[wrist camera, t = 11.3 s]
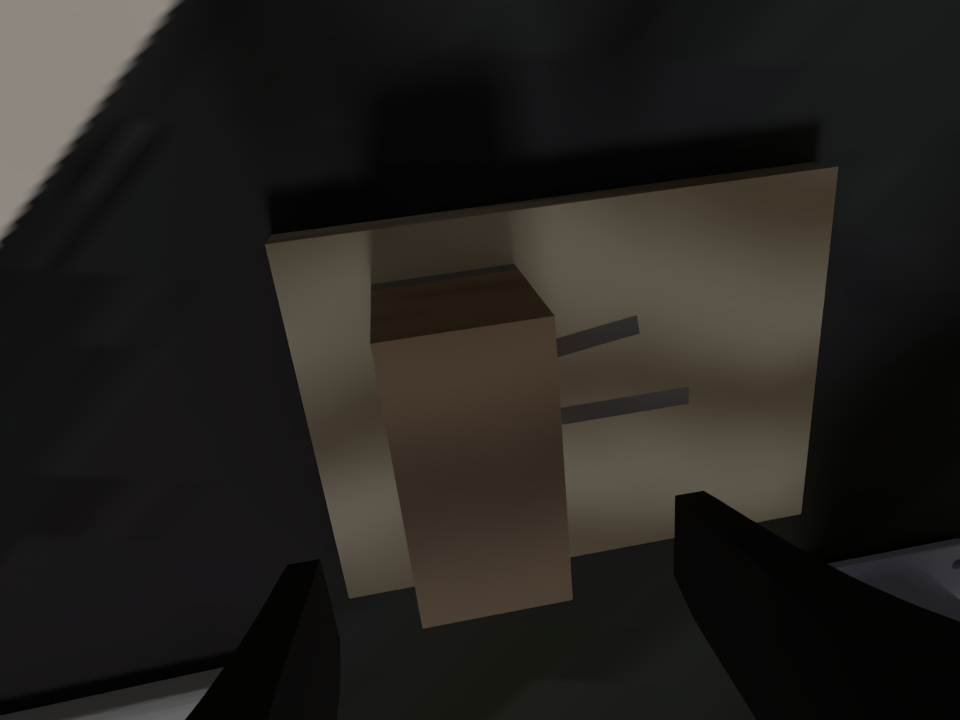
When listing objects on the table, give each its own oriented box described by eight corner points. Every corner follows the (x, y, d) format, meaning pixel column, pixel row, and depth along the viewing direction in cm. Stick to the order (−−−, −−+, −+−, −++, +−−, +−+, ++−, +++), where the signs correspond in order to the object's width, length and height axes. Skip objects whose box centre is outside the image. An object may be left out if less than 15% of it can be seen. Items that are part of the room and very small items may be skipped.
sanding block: (534, 501, 22) (573, 599, 18) (413, 523, 21) (422, 628, 17) (514, 264, 18) (554, 316, 14) (371, 284, 18) (369, 343, 14)
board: (782, 494, 25) (801, 514, 24) (350, 573, 23) (349, 598, 22) (812, 161, 20) (838, 166, 19) (271, 234, 18) (264, 244, 17)
